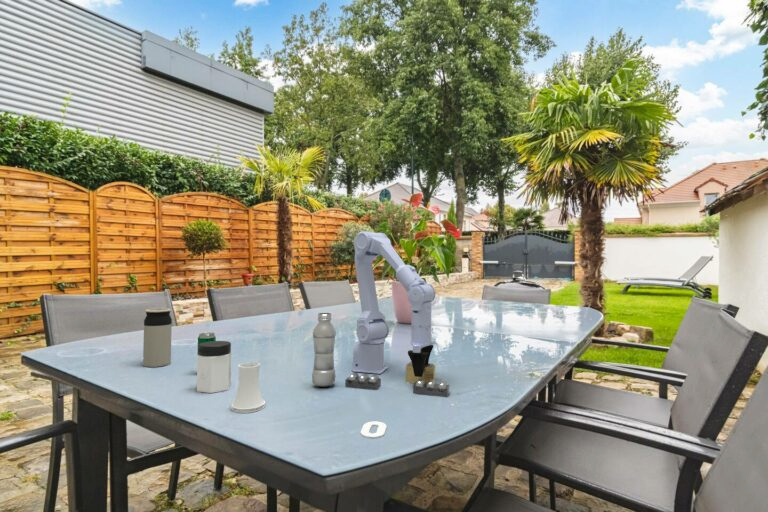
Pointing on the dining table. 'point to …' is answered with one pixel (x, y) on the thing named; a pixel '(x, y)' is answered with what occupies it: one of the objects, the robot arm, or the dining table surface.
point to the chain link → (368, 426)
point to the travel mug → (157, 337)
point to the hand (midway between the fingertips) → (420, 372)
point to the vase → (248, 389)
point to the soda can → (206, 338)
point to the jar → (214, 366)
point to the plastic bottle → (324, 351)
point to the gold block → (427, 375)
